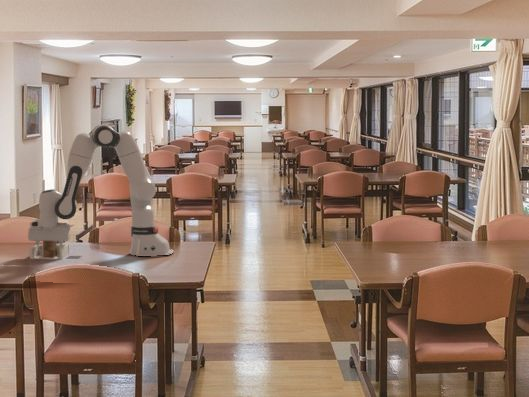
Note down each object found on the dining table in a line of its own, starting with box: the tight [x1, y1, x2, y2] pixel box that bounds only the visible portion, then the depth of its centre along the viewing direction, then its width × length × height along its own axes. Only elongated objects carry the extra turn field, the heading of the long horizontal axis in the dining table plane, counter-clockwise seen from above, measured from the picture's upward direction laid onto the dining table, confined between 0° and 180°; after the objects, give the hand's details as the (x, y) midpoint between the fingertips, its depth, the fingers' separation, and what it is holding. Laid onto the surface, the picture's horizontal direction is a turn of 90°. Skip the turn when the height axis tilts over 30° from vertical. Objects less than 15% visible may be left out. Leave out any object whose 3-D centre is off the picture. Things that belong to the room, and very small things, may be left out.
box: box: [29, 243, 70, 260], centre depth 365 cm, size 16×11×6 cm
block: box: [42, 241, 57, 257], centre depth 365 cm, size 5×5×8 cm
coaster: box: [65, 255, 83, 260], centre depth 363 cm, size 6×6×1 cm
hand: (49, 249), depth 365 cm, fingers open, 8 cm apart
